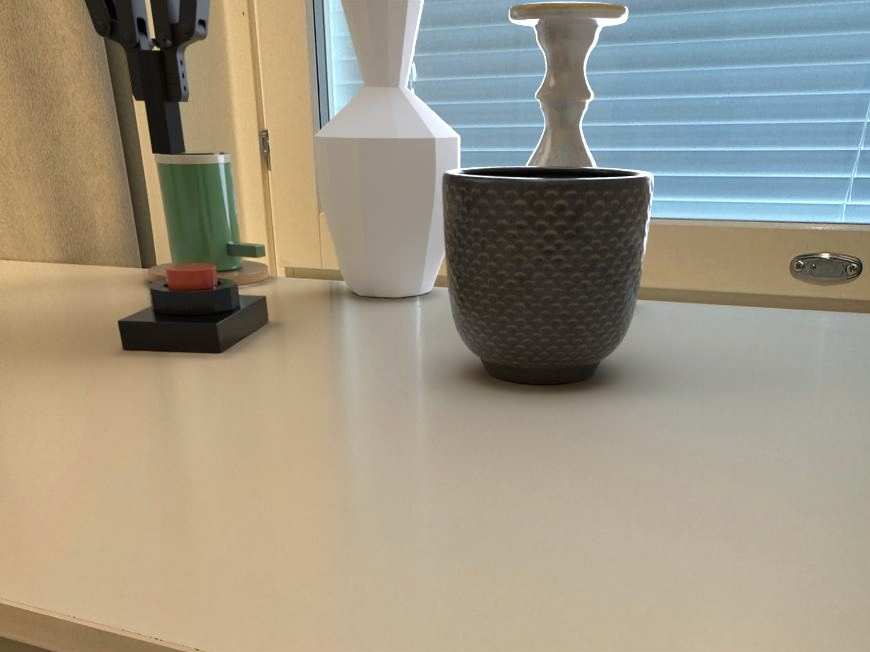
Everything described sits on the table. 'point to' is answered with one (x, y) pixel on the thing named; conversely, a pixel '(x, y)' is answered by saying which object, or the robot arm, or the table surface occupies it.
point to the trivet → (223, 273)
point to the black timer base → (193, 319)
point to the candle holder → (565, 73)
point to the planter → (544, 265)
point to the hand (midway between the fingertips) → (169, 152)
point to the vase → (385, 161)
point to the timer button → (191, 276)
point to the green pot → (202, 210)
